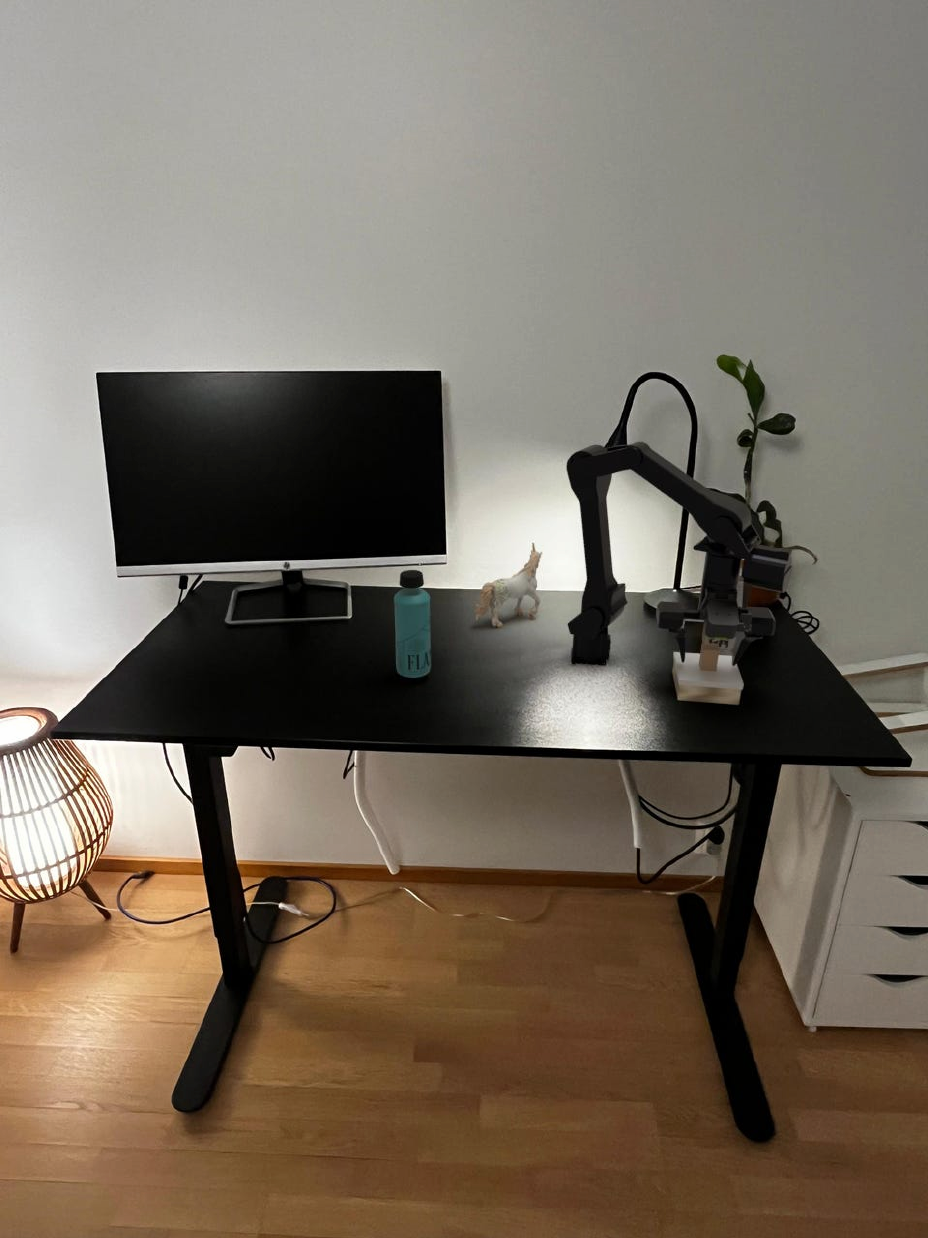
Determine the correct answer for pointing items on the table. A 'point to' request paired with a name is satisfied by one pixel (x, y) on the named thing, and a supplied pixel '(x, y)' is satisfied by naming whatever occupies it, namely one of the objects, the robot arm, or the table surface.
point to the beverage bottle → (412, 626)
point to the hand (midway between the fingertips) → (707, 663)
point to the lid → (707, 669)
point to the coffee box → (728, 644)
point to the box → (706, 693)
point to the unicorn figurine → (511, 590)
